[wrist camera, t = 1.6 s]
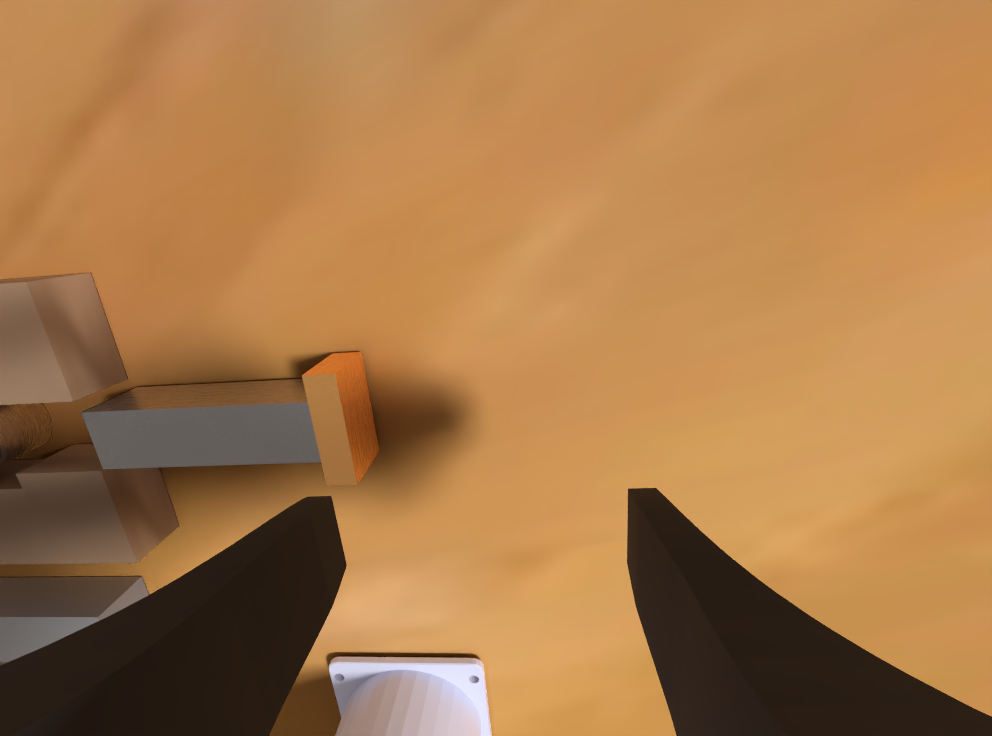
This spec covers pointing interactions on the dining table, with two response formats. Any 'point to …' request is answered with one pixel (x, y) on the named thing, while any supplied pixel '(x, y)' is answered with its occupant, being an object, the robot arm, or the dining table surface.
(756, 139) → the dining table surface
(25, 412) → the peg
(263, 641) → the robot arm
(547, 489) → the dining table surface
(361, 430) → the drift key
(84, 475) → the socket block
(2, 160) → the dining table surface
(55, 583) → the block
